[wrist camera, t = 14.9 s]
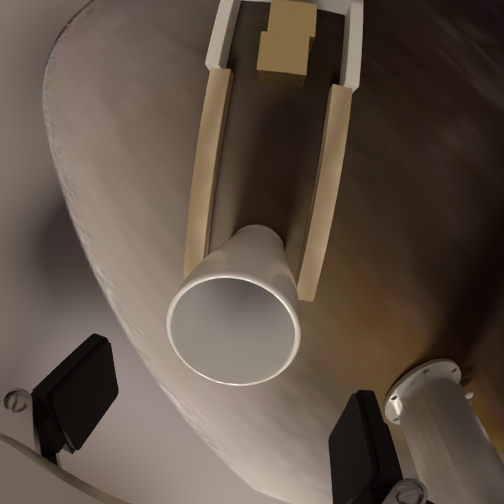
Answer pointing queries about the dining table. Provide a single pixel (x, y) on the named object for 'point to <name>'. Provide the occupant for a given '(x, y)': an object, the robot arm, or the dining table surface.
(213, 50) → the u-shaped frame
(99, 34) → the dining table surface
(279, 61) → the wooden cube
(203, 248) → the channel
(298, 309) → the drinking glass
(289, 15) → the tan cube
